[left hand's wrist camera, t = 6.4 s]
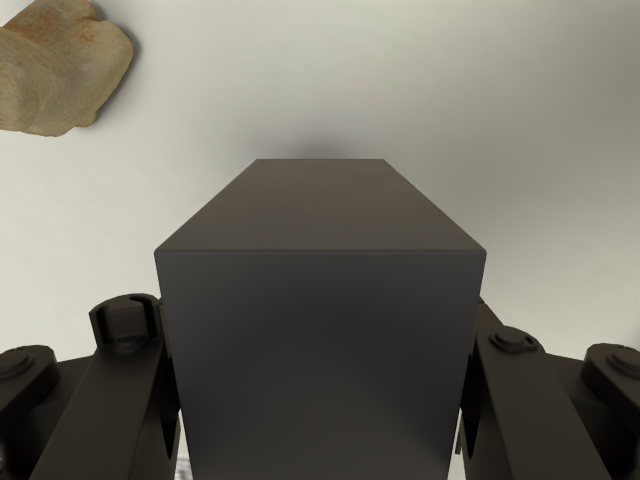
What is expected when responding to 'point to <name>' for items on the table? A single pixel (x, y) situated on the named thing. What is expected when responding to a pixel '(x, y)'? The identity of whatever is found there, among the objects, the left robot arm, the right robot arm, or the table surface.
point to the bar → (320, 324)
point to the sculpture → (58, 66)
